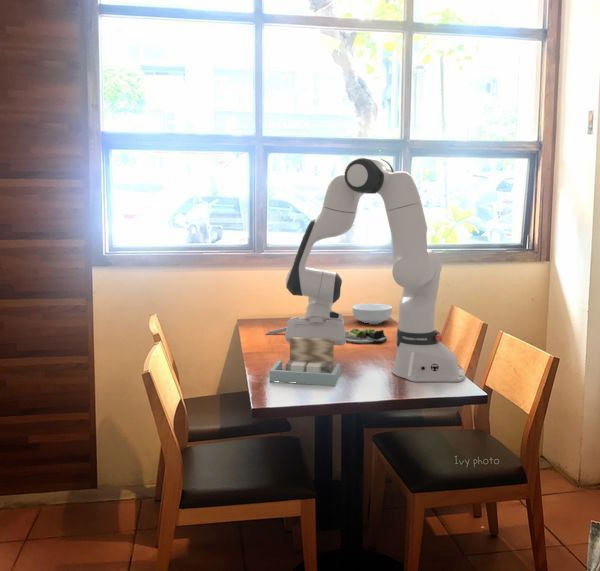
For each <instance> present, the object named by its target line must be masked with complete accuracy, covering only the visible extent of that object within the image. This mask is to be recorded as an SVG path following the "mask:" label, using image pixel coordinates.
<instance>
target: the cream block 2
mask: <svg viewBox="0 0 600 571" xmlns="http://www.w3.org/2000/svg"><path fill="white" fill-rule="evenodd" d="M306 372H317V373H321V363H308V364H307V366H306Z"/></svg>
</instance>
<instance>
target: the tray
mask: <svg viewBox="0 0 600 571" xmlns="http://www.w3.org/2000/svg"><path fill="white" fill-rule="evenodd" d="M340 376H341V363H336V365H335V366H334V367H333V371H332V372H331V373H317V372H300V371H286V370H283V360H279V359H278V360H277V362H276V363H275V364H274V365H273V366H272V368H271V369H269V382H270V381H279V382H296V383H306V384H305V385H309V384H315V385H314V386H325V385H327V386H326V387H335V386H336V385H337V383H338V381H339V379H338V378H340ZM337 380H338V381H337ZM336 382H337V383H336Z"/></svg>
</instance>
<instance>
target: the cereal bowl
mask: <svg viewBox="0 0 600 571" xmlns="http://www.w3.org/2000/svg"><path fill="white" fill-rule="evenodd" d="M351 309H352V314H353V317H354V318H355V319H356V320H358V321H360V322H362V323H363V322H364V323H363V324H365V323H369V324H368V325H379V323H380V324H382V322H384V321H387V320H388V319H389V318H390V317H391V315H392V313H393V307H392V305H389V304H384V303H371V302H370V303H369V302H367V303H366V302H365V303H359V304H355V305H353V306H352V308H351Z"/></svg>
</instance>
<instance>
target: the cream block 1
mask: <svg viewBox="0 0 600 571" xmlns="http://www.w3.org/2000/svg"><path fill="white" fill-rule="evenodd" d="M291 371H300V372H306V362H293V363H292V364H291Z"/></svg>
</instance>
